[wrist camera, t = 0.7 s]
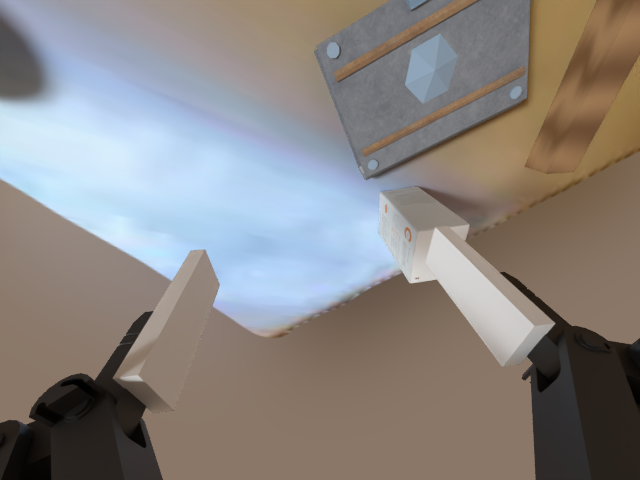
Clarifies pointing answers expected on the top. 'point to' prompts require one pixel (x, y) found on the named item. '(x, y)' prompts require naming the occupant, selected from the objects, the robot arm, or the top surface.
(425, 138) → the book
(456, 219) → the small box
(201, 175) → the top surface
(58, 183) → the top surface
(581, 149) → the rail
